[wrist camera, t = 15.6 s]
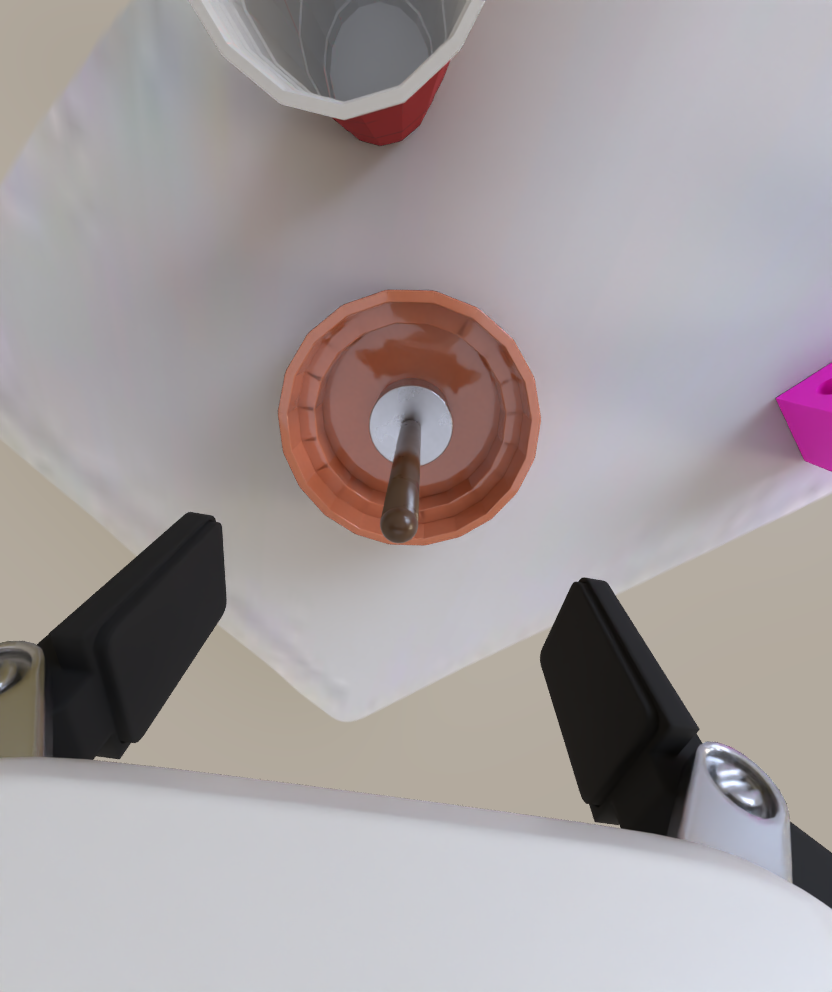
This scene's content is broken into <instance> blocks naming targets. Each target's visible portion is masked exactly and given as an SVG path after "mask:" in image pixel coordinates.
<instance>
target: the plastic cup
mask: <svg viewBox="0 0 832 992" xmlns="http://www.w3.org/2000/svg"><path fill="white" fill-rule="evenodd" d="M485 1H486V0H188V2H189V3H190V5H191V6H192V8H193V10H194V11H195V13H196V15H197V16H198V18H199V19H200V21H201V23H202V24H203V26H204V28H205V29H206V31H207V32H208V34H209V36H210V37H211V39H212V41H213V42H214V44H215V45H216V47H217V49H218V50H219V52H220V54H221V55H222V56H223V57H224V58H225V59H226V60H227V61H229V62H230V63H231V64H232V65H234V66H235V67H236V68H237V69H238V70H240V71H241V72H242V73H243V74H244V75H246V76H247V77H248V78H249V79H250V80H252V81H253V82H254V83H255V84H256V85H258V86H259V87H260V88H261V89H262V90H264V91H265V92H266V93H267V94H268V95H270V96H271V97H272V98H273V99H275V100H276V101H277V102H278V103H279V104H281V105H285V106H289V107H293V108H297V109H301V110H305V111H309V112H313V113H317V114H321V115H325V116H329V117H332V118H333V119H334V120H335V121H337V122H338V123H339V124H340V125H341V126H342V127H344V128H345V129H346V130H347V131H349V132H351V133H352V134H353V135H354V136H355V137H356V138H358V139H359V140H361V141H364V142H368V143H372V144H375V145H379V146H382V145H386V144H391V143H395V142H399V141H402V140H403V139H404V138H405V137H407V136H408V135H409V134H410V133H411V132H412V131H414V130H415V129H416V128H417V127H418V126H419V125H420V124H421V122H422V120H423V118H424V116H425V114H426V112H427V110H428V109H429V107H430V105H431V103H432V101H433V98H434V96H435V93H436V92H437V90H438V88H439V86H440V84H441V82H442V80H443V78H444V75H445V73H446V70H447V68H448V65H449V62H450V60H451V59H452V58H453V57H454V56H455V55H456V54H457V53H458V52H459V51H460V49H461V48H462V46H463V44H464V42H465V40H466V38H467V36H468V34H469V32H470V30H471V28H472V26H473V24H474V22H475V21H476V19H477V17H478V15H479V13H480V11H481V9H482V7H483V5H484V3H485Z"/></svg>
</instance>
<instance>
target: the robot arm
mask: <svg viewBox="0 0 832 992" xmlns="http://www.w3.org/2000/svg"><path fill="white" fill-rule="evenodd" d="M225 608H226V584H225V568H224V552H223V535H222V525H221V523H219V522H216V519H215V518H214V516H211V515H205V514H199V513H193V512H188V513H186V514H185V515H184V516H183V517H181V518H180V519H179V520H178V521H177V522H176V523H175V524H173V525H172V526H171V527H170V528H169V529H168V530H167V531H165V532H164V533H163V534H162V535H161V536H160V537H159V538H157V539H156V540H155V541H154V542H153V543H152V544H151V545H149V546H148V547H147V548H146V549H145V550H144V551H143V552H141V553H140V554H139V555H138V556H137V557H136V558H135V559H134V560H132V561H131V562H130V563H129V564H128V565H127V566H126V567H124V568H123V569H122V570H121V571H120V572H119V573H117V574H116V575H115V576H114V577H113V578H112V579H111V580H109V581H108V582H107V583H106V584H105V585H104V586H103V587H101V588H100V589H99V590H98V591H97V592H96V593H95V594H93V595H92V596H91V597H90V598H89V599H88V600H87V601H86V602H84V603H83V604H82V605H81V606H80V607H79V608H77V609H76V610H75V611H74V612H73V613H72V614H71V615H69V616H68V617H67V618H66V619H65V620H64V621H63V622H62V623H60V624H59V625H58V626H57V627H56V628H55V629H53V630H52V631H51V632H50V633H49V635H47V636H46V637H45V638H44V639H43V640H42V641H40V642H39V643H38V644H37V645H36V644H34V643H30V642H25V641H7V642H2V643H0V992H832V853H831V852H830V851H829V850H827V849H826V848H824V847H823V846H822V845H821V844H819V843H818V842H817V841H815V840H814V839H813V838H811V837H810V836H808V835H807V834H806V833H805V832H803V831H802V830H801V829H799V828H798V827H797V826H795V825H794V824H792V823H791V822H790V816H789V811H788V807H787V803H786V801H785V800H784V798H783V796H782V794H781V792H780V790H779V789H778V788H777V786H776V785H775V784H774V782H772V780H771V779H770V777H768V775H767V774H766V773H765V772H764V771H763V770H762V769H761V768H760V767H759V766H758V765H757V764H755V763H754V762H753V761H751V760H750V759H749V758H747V757H746V756H745V755H744V754H742V753H740V752H739V751H737V750H735V749H733V748H731V747H730V746H727V745H724V744H721V743H718V742H705V743H702V742H701V740H700V739H699V737H698V735H697V734H696V733H697V732H698V731H699V728H698V726H697V724H696V723H695V721H694V720H693V718H692V716H691V715H690V713H689V712H688V710H687V709H686V707H685V705H684V704H683V702H682V701H681V699H680V697H679V696H678V694H677V693H676V691H675V689H674V688H673V686H672V685H671V683H670V681H669V680H668V678H667V677H666V675H665V674H664V672H663V670H662V669H661V667H660V666H659V664H658V662H657V661H656V659H655V658H654V656H653V654H652V653H651V651H650V650H649V648H648V647H647V645H646V644H645V642H644V640H643V639H642V637H641V635H640V634H639V633H638V631H637V629H636V627H635V626H634V624H633V623H632V621H631V620H630V618H629V616H628V615H627V613H626V612H625V610H624V608H623V607H622V605H621V604H620V602H619V600H618V599H617V597H616V596H615V594H614V593H613V591H612V589H611V588H610V586H609V585H608V583H607V582H605V581H602V580H596V579H590V578H581V579H580V580H579V582H574V583H573V584H572V586H571V588H570V590H569V592H568V594H567V596H566V598H565V601H564V603H563V605H562V607H561V609H560V611H559V613H558V616H557V618H556V620H555V622H554V624H553V626H552V629H551V631H550V633H549V635H548V637H547V639H546V641H545V644H544V646H543V648H542V650H541V654H540V663H541V667H542V670H543V673H544V676H545V680H546V683H547V686H548V690H549V693H550V696H551V699H552V703H553V706H554V709H555V712H556V716H557V719H558V722H559V726H560V729H561V732H562V735H563V739H564V742H565V745H566V748H567V752H568V755H569V758H570V762H571V765H572V768H573V771H574V775H575V778H576V781H577V785H578V788H579V791H580V794H581V797H582V799H583V800H584V802H585V803H586V804H589V805H590V808H591V811H592V814H593V818H594V821H595V822H599V823H607V824H614V825H620V827H621V828H614V827H608V826H602V825H596V824H589V823H583V822H576V821H569V820H562V819H554V818H547V817H540V816H532V815H525V814H518V813H511V812H503V811H496V810H489V809H481V808H474V807H467V806H459V805H452V804H445V803H437V802H430V801H422V800H415V799H407V798H399V797H392V796H384V795H377V794H369V793H362V792H354V791H346V790H338V789H331V788H323V787H316V786H308V785H300V784H292V783H284V782H276V781H269V780H261V779H253V778H244V777H237V776H229V775H221V774H213V773H205V772H197V771H189V770H181V769H173V768H163V767H154V766H145V765H135V764H126V763H117V762H107V761H98V760H93V759H94V758H95V757H96V756H99V757H106V758H114V759H120V758H121V756H122V755H123V754H124V752H125V751H126V749H127V748H128V746H129V745H130V743H136V742H138V741H139V740H140V739H141V738H142V737H143V736H144V734H145V733H146V731H147V729H148V728H149V726H150V725H151V723H152V722H153V720H154V719H155V717H156V716H157V714H158V713H159V711H160V710H161V708H162V706H163V705H164V704H165V702H166V701H167V699H168V698H169V696H170V695H171V693H172V692H173V690H174V688H175V687H176V686H177V684H178V682H179V681H180V679H181V678H182V676H183V675H184V673H185V672H186V670H187V669H188V667H189V666H190V664H191V663H192V661H193V659H194V658H195V657H196V655H197V653H198V652H199V650H200V649H201V647H202V646H203V644H204V643H205V641H206V640H207V638H208V637H209V635H210V634H211V632H212V631H213V629H214V627H215V626H216V625H217V623H218V622H219V620H220V619H221V617H222V615H223V613H224V611H225Z"/></svg>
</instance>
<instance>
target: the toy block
mask: <svg viewBox="0 0 832 992" xmlns="http://www.w3.org/2000/svg"><path fill="white" fill-rule="evenodd" d="M776 400H777V402H778V405H779V407H780V409H781V411H782V413H783V415H784V417H785V420H786V422H787V424H788V426H789V428H790V430H791V432H792V435H793V437H794V439H795V441H796V443H797V445H798V447H799V450H800V452H801V454H802V456H803V458H804V460H805V461H806V462H809V463H811V464H814V465H816V466H819V467H821V468H824V469H826V470H829V471H831V472H832V363H830V364H829V365H827V366H826V367H824V368H822V369H821V370H819V371H818V372H816V373H815V374H813V375H811V376H810V377H808V378H807V379H805V380H804V381H802V382H800V383H799V384H797V385H796V386H794V387H793V388H791V389H789V390H788V391H786V392H785V393H783V394H781V395H780V396H778V397H777V398H776Z"/></svg>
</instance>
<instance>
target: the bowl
mask: <svg viewBox="0 0 832 992" xmlns="http://www.w3.org/2000/svg"><path fill="white" fill-rule="evenodd" d="M407 378H417V379H422V380H425V381H428V382H430V383H431V384H433V385H435V386H436V387H437V388H438V389H439V390H440V391H441V392H442V393H443V395H444V396H445V398H446V399H447V402H448V404H449V408H450V412H451V416H452V421H453V432H452V437H451V440H450V442H449V445H448V446H447V448H446V450H445V451H444V452H443V453H442V454H441V455H440V456H439V457H438V458H437V459H435V460H434V461H432V462H430V463H428V464H426V465H422V466H420V485H419V516H418V529H417V532H416V534H415V536H414V537H413V538H412V539H411V540H409V541H407V542H405V543H393V542H391V541H389V540H388V539H386V538H385V537H384V535H383V534H382V531H381V528H380V520H381V515H382V511H383V506H384V501H385V497H386V492H387V487H388V482H389V478H390V473H391V468H392V464H393V463H392V462H390V461H389V460H387V459H386V458H384V457H383V456H382V455H381V454H380V453H379V452H378V450H377V449H376V447H375V446H374V444H373V442H372V440H371V437H370V432H369V419H370V414H371V411H372V409H373V407H374V405H375V403H376V401H377V399H378V397H379V396H380V394H381V393H382V392H383V391H384V389H385V388H387V387H388V386H389V385H391V384H392V383H394V382H396V381H398V380H402V379H407ZM278 419H279V426H280V433H281V441H282V448H283V453H284V455H285V457H286V460H287V462H288V464H289V466H290V468H291V470H292V472H293V474H294V476H295V479H296V481H297V483H298V485H299V487H300V488H301V489H302V490H303V491H304V492H305V493H306V495H307V496H308V497H309V498H310V499H311V500H312V501H313V502H314V503H315V505H316V506H317V507H318V508H319V509H320V510H321V511H322V512H323V513H324V514H325V515H326V516H327V517H329V518H331V519H332V520H334V521H335V522H337V523H338V524H340V525H342V526H343V527H345V528H346V529H348V530H350V531H351V532H353V533H354V534H357V535H360V536H363V537H367V538H370V539H373V540H377V541H380V542H383V543H387V544H395V545H429V544H433V543H437V542H441V541H445V540H449V539H453V538H457V537H459V536H462V535H464V534H466V533H468V532H469V531H471V530H473V529H475V528H477V527H478V526H480V525H482V524H484V523H485V522H487V521H489V520H491V519H492V518H493V517H494V516H495V515H496V514H497V513H498V512H499V511H500V510H501V509H502V508H503V507H504V506H505V505H506V504H507V503H508V502H509V501H510V499H511V498H512V497H513V496H514V495H515V494H516V493H517V492H518V490H519V488H520V486H521V484H522V482H523V480H524V478H525V476H526V474H527V472H528V471H529V469H530V467H531V465H532V463H533V461H534V458H535V454H536V448H537V442H538V435H539V429H540V423H541V415H540V409H539V403H538V397H537V391H536V385H535V379H534V376H533V374H532V372H531V371H530V369H529V367H528V365H527V363H526V361H525V360H524V358H523V356H522V354H521V352H520V350H519V349H518V347H517V345H516V343H515V341H514V340H513V338H512V337H511V336H509V335H508V334H507V333H506V332H505V331H504V330H503V329H502V328H500V327H499V326H498V325H497V324H496V323H495V322H494V321H493V320H491V319H490V318H489V317H488V316H487V315H486V314H485V313H484V312H482V311H481V310H480V309H478V308H477V307H475V306H472V305H469V304H467V303H464V302H462V301H459V300H457V299H454V298H452V297H449V296H447V295H444V294H442V293H439V292H437V291H429V290H384V291H381V292H378V293H375V294H372V295H370V296H367V297H364V298H361V299H358V300H355V301H352V302H349V303H347V304H344V305H342V306H340V307H339V308H338V309H337V310H336V311H334V312H333V313H332V314H331V315H330V316H328V317H327V318H326V319H325V320H324V321H322V322H321V323H320V324H319V325H317V326H316V327H315V328H314V329H313V330H311V331H310V332H309V333H308V334H307V335H306V337H305V339H304V340H303V342H302V344H301V346H300V347H299V349H298V351H297V352H296V354H295V356H294V358H293V359H292V361H291V363H290V364H289V366H288V368H287V370H286V372H285V376H284V382H283V387H282V392H281V397H280V403H279V408H278Z"/></svg>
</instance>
